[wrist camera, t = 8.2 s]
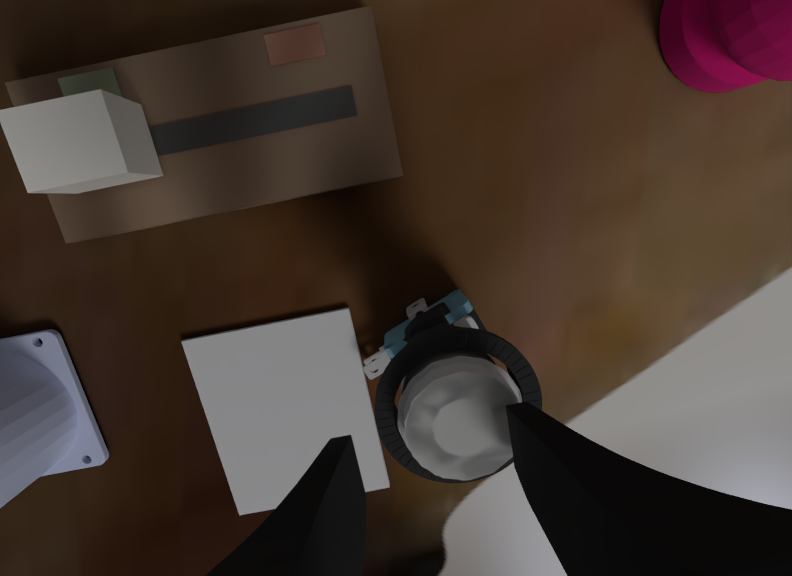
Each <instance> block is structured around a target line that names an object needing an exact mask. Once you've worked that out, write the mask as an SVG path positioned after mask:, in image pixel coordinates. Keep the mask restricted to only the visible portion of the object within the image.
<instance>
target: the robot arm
mask: <svg viewBox="0 0 792 576" xmlns="http://www.w3.org/2000/svg"><path fill="white" fill-rule="evenodd" d="M39 338H40V339H41V340H42V342H43V344H42V343H40V342H39ZM506 412H507V419H508V426H509V432H510V439H511V446H512V453H513V459H514V466H515V469H516V472H517V474H518V477H519V480H520V482H521V485H522V487H523V490H524V492H525V495H526V497H527V500H528V502H529V504H530V506H531V508H532V510H533V512H534V513H535V515H536V517H537V519H538V521H539V523H540V525H541V527H542V529H543V530H544V532H545V534H546V536H547V538H548V540H549V542H550V544H551V546H552V547H553V549H554V551H555V553H556V555H557V557H558V559H559V561H560V562H561V564H562V566H563V568H564V570H565V572H566V573H567V576H792V510H791V509H786V508H781V507H776V506H772V505H767V504H763V503H759V502H755V501H752V500H747V499H744V498H740V497H736V496H733V495H729V494H725V493H721V492H718V491H715V490H711V489H708V488H705V487H702V486H699V485H696V484H693V483H690V482H687V481H684V480H681V479H678V478H675V477H672V476H669V475H667V474H664V473H661V472H659V471H656V470H654V469H651V468H649V467H646V466H644V465H642V464H639V463H637V462H635V461H632V460H630V459H628V458H625V457H623V456H621V455H619V454H617V453H615V452H613V451H611V450H609V449H607V448H605V447H603V446H601V445H599V444H597V443H595V442H593V441H591V440H589V439H587V438H586V437H584V436H582V435H580V434H578V433H577V432H575V431H573V430H572V429H570V428H568V427H567V426H565V425H563V424H562V423H560V422H559V421H557V420H555V419H554V418H552V417H551V416H549V415H547V414H546V413H544V412H543V411H541V410H540V409H538V408H537V407H535V406H533V405H532V404H530V403H529V402H527V401H526V402H521V403H515V404H510V405H506ZM88 456H89V457H90V458H91V459H90V458H88ZM108 457H109V453H108V450H107V448H106V445H105V443H104V440H103V438H102V435H101V433H100V430H99V428H98V425H97V423H96V421H95V418H94V416H93V413H92V411H91V408H90V406H89V403H88V401H87V398H86V396H85V393H84V391H83V388H82V386H81V383H80V381H79V378H78V376H77V374H76V371H75V369H74V366H73V364H72V361H71V359H70V356H69V354H68V351H67V349H66V346H65V344H64V341H63V339H62V336H61V335H60V333H59V332H57V331H56V330H53V329H48V330H43V331H38V332H33V333H27V334H22V335H17V336H12V337H7V338H2V339H0V508H1V507H2V506H4V505H5V504H6V503H7V502H9V501H10V500H11V499H12V498H14V497H15V496H16V495H17V494H19V493H20V492H21V491H22V490H24V489H25V488H26V487H27V486H29V485H30V484H31V483H32V482H34V481H35V480H36V479H37V478H38V477H40V476H45V475H50V474H56V473H61V472H66V471H71V470H77V469H82V468H87V467H93V466H98V465H101V464H103V463H104V462H105V461H106V460H107V459H108ZM365 537H366V493H365V489H364V485H363V481H362V477H361V473H360V469H359V465H358V460H357V456H356V452H355V448H354V444H353V440H352V436H351V435H346V436H341V437H336V438H331V439H330V440H329V441H328V442H327V444H326V445H325V446H324V448H323V449H322V450H321V452H320V453H319V455H318V456H317V457H316V459H315V460H314V461H313V463H312V464H311V465H310V467H309V468H308V469H307V471H306V472H305V473H304V475H303V476H302V477H301V479H300V480H299V481H298V483H297V484H296V485H295V486H294V488H293V489H292V490H291V491H290V492H289V493H288V495H287V496H286V497H285V498H284V499H283V501H282V502H281V503H280V504H279V505H278V506H277V508H276V509H275V510H274V511H273V512H272V513H271V514H270V516H269V517H268V518H267V519H266V520H265V521H264V522H263V523H262V524H261V525H260V526H259V527H258V528H257V529H256V530H255V531H254V532H253V533H252V534H251V535H250V536H249V537H248V538H247V539H246V540H245V541H244V542H243V543H242V544H241V545H240V546H239V547H237V548H236V549H235V550H234V551H233V552H232V553H231V554H229V555H228V556H227V557H226V558H225V559H224V560H222V561H221V562H220V563H219V564H218V565H217V566H216V567H214V568H213V569H212V570H211V571H210V572H209V573H207V574H206V575H205V576H361V574H362V565H363V556H364V547H365Z"/></svg>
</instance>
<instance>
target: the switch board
mask: <svg viewBox="0 0 792 576" xmlns="http://www.w3.org/2000/svg"><path fill="white" fill-rule="evenodd" d="M5 85H6V87H7V90H8V92H9V95H10V98H11V100H12V103H13V106H14V107H18V106H22V105H27V104H32V103H37V102H42V101H46V100H51V99H56V98H61V97H65V96H70V95H75V94H80V93H84V92H89V91H94V90H99V89H102V90H104V91H107V92H109V93H112V94H115V95H117V96H120V97H123V98H125V99H128V100H130V101H133V102H136V103H138V104H141V106H142V109H143V112H144V115H145V118H146V121H147V125H148V128H149V131H150V134H151V137H152V141H153V144H154V147H155V150H156V153H157V156H158V160H159V163H160V166H161V169H162V172H163V176H161V177H156V178H151V179H146V180H141V181H136V182H131V183H126V184H122V185H117V186H112V187H107V188H102V189H97V190H92V191H87V192H82V193H78V194H66V193H47V195H48V197H49V200H50V203H51V205H52V208H53V211H54V213H55V216H56V218H57V221H58V224H59V226H60V229H61V232H62V234H63V237H64V239H65V242H66V243H73V242H80V241H87V240H92V239H97V238H102V237H107V236H112V235H117V234H122V233H127V232H132V231H137V230H142V229H147V228H152V227H157V226H162V225H167V224H172V223H176V222H181V221H186V220H191V219H196V218H201V217H206V216H211V215H216V214H221V213H226V212H231V211H236V210H241V209H246V208H251V207H256V206H261V205H266V204H271V203H276V202H280V201H285V200H290V199H295V198H300V197H305V196H310V195H315V194H320V193H325V192H330V191H335V190H340V189H345V188H350V187H355V186H360V185H365V184H370V183H375V182H379V181H384V180H389V179H394V178H399V177H402V176H403V172H402V167H401V161H400V156H399V151H398V145H397V140H396V134H395V129H394V124H393V118H392V113H391V107H390V102H389V97H388V91H387V86H386V80H385V75H384V69H383V64H382V59H381V53H380V48H379V42H378V37H377V32H376V26H375V21H374V15H373V10H372V5H371V6H366V7H361V8H357V9H352V10H347V11H342V12H338V13H333V14H328V15H323V16H319V17H314V18H309V19H304V20H300V21H295V22H290V23H285V24H281V25H276V26H271V27H267V28H262V29H257V30H252V31H248V32H243V33H238V34H233V35H229V36H224V37H219V38H214V39H210V40H205V41H200V42H196V43H191V44H186V45H181V46H177V47H172V48H167V49H162V50H158V51H153V52H148V53H143V54H139V55H134V56H129V57H125V58H120V59H115V60H110V61H106V62H101V63H96V64H91V65H87V66H82V67H77V68H72V69H68V70H63V71H58V72H53V73H49V74H44V75H39V76H35V77H30V78H25V79H20V80H16V81H11V82H6V83H5Z"/></svg>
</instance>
